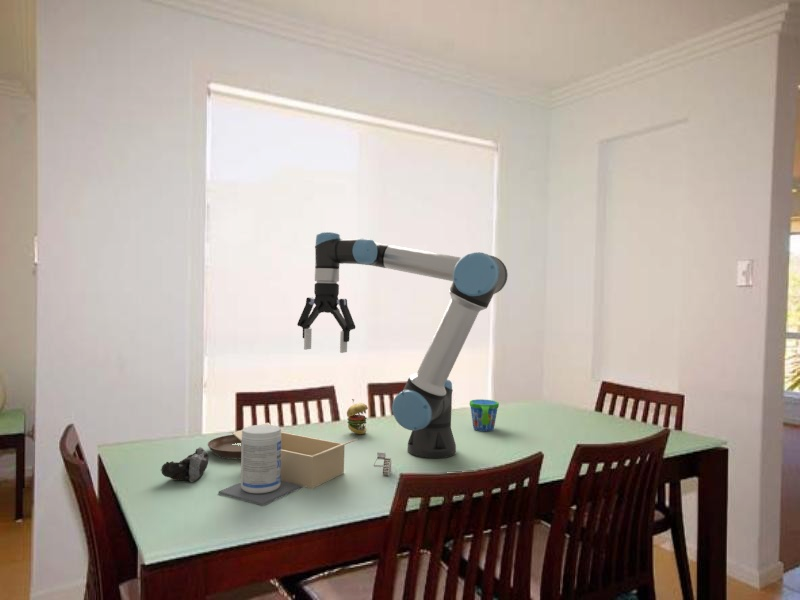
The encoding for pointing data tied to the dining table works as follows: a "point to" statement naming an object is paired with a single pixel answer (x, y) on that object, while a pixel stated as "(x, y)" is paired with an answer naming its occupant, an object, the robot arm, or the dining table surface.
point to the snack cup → (483, 414)
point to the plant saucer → (226, 447)
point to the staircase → (382, 457)
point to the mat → (261, 498)
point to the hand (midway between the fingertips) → (325, 350)
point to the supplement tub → (261, 458)
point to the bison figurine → (187, 466)
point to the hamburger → (357, 418)
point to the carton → (308, 459)
